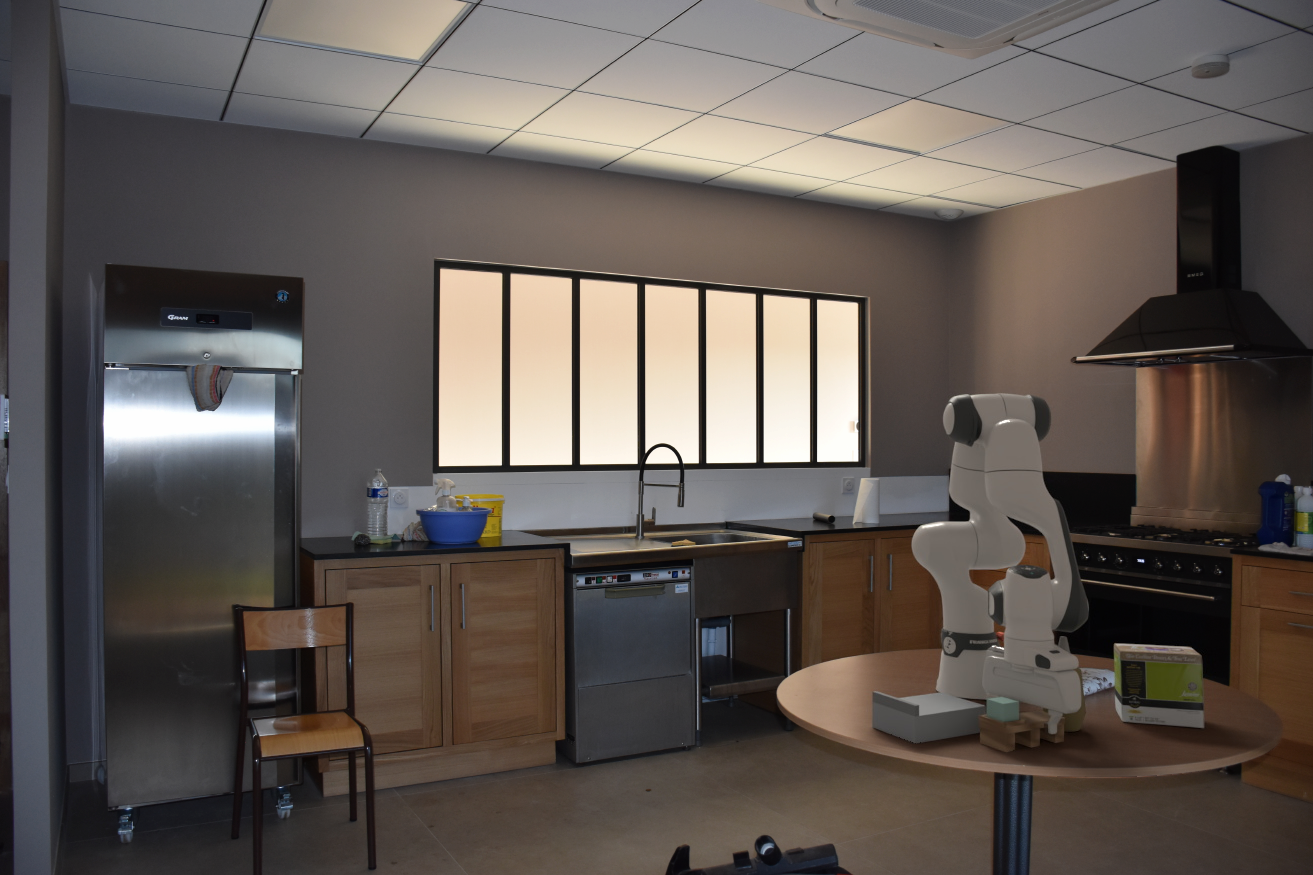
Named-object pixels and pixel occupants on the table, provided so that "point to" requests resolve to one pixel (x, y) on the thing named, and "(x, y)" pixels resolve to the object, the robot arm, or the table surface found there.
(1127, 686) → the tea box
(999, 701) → the mint green cube
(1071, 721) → the squeeze bottle
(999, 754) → the table surface
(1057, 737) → the pallet
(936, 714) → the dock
